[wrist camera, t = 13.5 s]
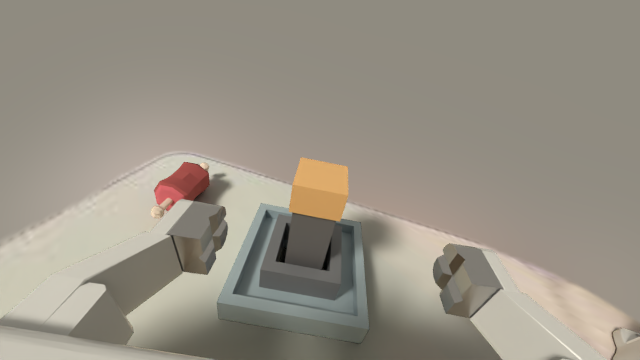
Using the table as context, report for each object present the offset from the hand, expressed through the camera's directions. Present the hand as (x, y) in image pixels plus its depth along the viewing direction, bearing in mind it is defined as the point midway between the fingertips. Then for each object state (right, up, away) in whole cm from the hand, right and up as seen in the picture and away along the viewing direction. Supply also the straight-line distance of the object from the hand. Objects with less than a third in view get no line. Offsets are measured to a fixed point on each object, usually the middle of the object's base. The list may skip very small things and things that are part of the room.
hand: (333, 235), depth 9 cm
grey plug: (-3, -9, +20) cm, 22 cm away
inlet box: (-3, -9, +20) cm, 22 cm away
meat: (-20, -1, +27) cm, 33 cm away
